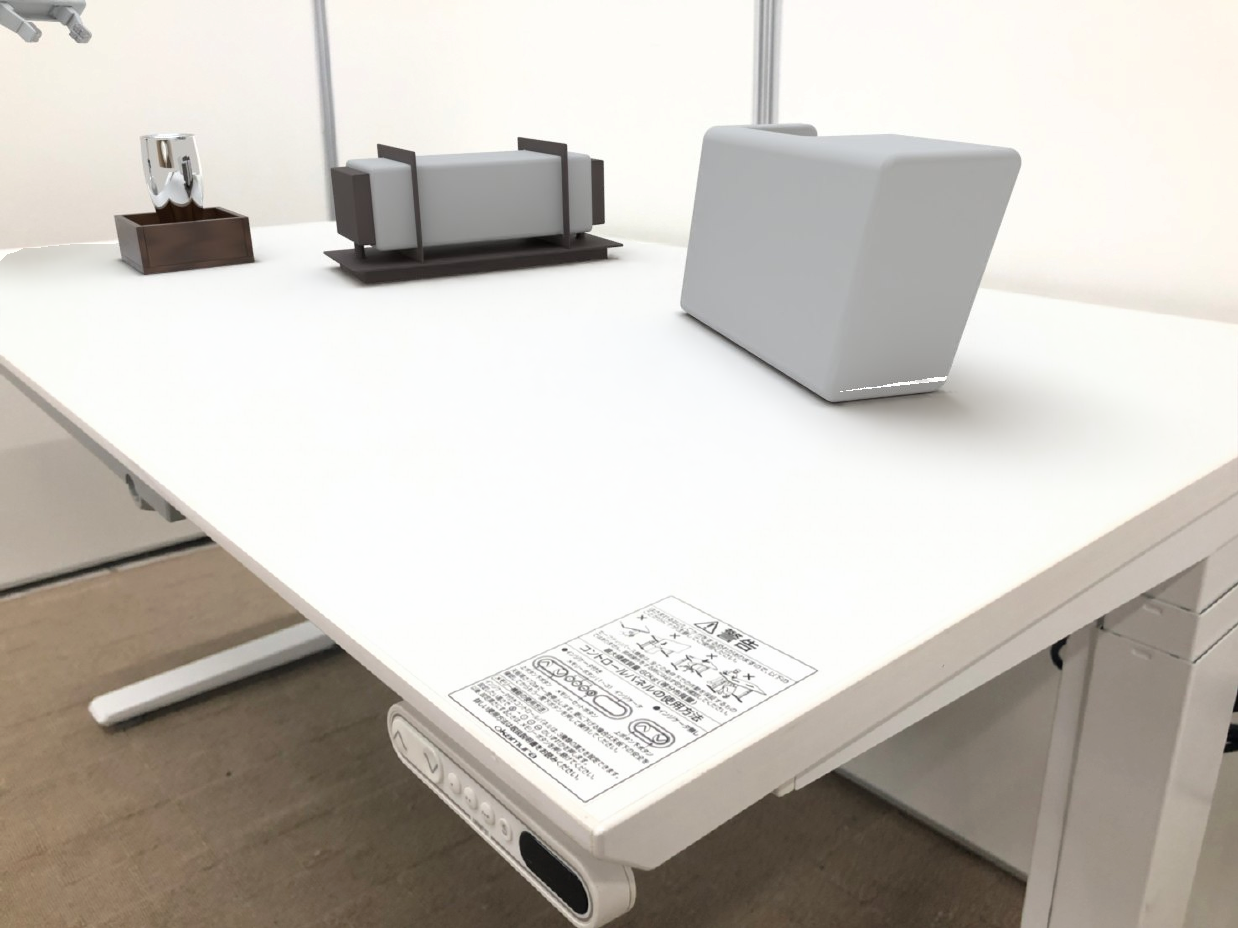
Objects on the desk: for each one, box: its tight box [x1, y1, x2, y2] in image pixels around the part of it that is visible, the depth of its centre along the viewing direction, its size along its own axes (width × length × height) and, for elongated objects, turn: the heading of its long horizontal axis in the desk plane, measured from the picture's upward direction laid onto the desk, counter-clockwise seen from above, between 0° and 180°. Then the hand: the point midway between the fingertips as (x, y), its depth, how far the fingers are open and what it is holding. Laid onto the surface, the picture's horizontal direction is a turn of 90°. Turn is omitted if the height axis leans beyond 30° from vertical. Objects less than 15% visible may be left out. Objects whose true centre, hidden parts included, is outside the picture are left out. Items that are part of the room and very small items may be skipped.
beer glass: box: [139, 133, 204, 224], centre depth 136 cm, size 7×7×15 cm
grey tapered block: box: [679, 122, 1022, 403], centre depth 87 cm, size 30×10×30 cm, turn 16°
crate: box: [113, 206, 256, 275], centre depth 138 cm, size 14×14×6 cm
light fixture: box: [322, 136, 624, 285], centre depth 132 cm, size 15×15×35 cm
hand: (61, 39), depth 131 cm, fingers open, 8 cm apart
